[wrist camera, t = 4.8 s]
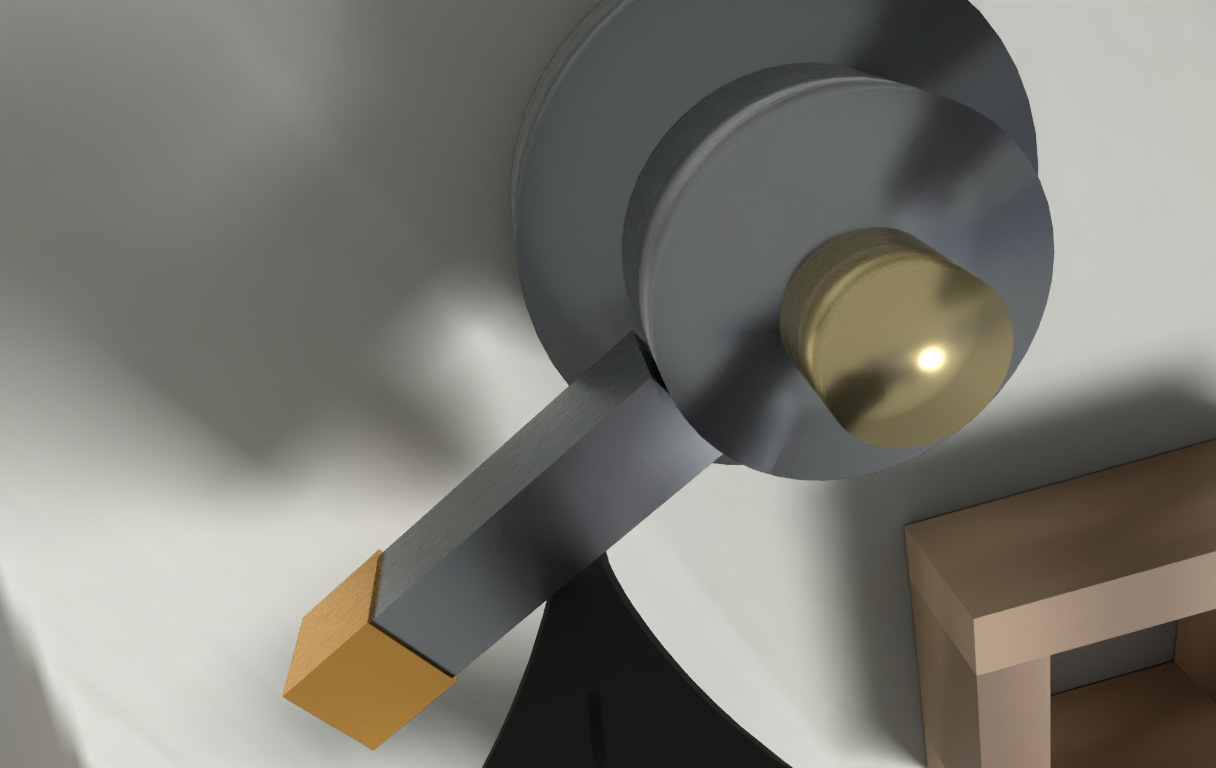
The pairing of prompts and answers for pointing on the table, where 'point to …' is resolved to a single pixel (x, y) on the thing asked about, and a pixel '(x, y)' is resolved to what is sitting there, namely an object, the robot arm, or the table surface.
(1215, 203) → the table surface
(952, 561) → the holder
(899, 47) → the base
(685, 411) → the collar
